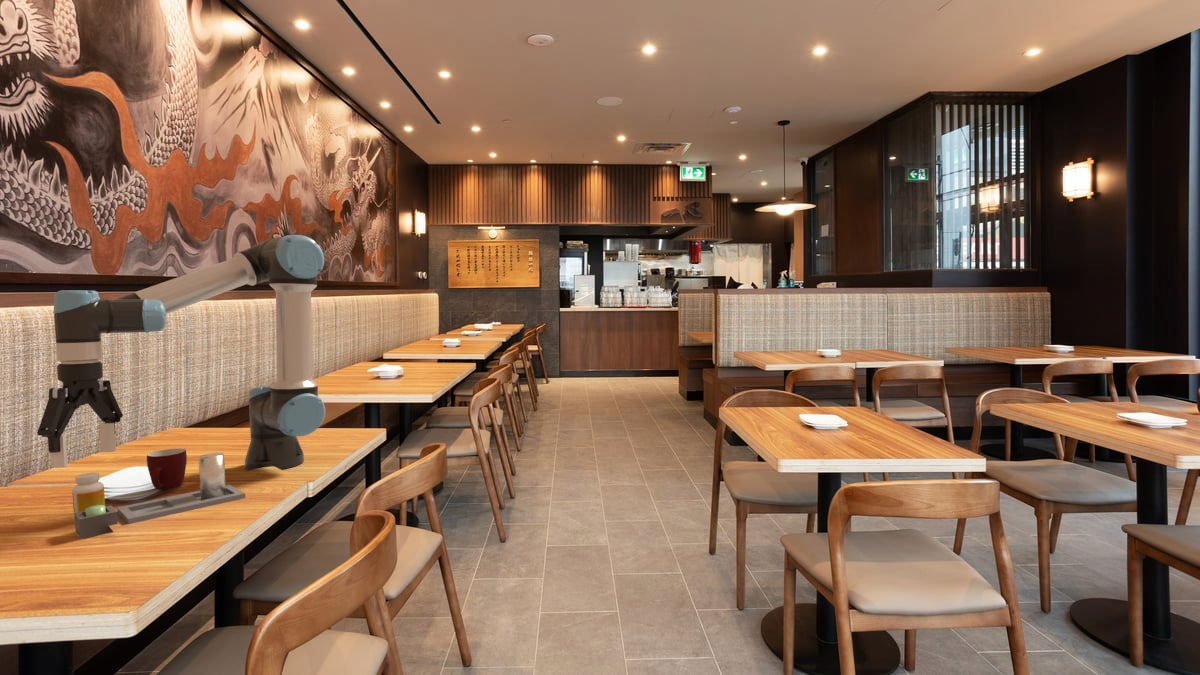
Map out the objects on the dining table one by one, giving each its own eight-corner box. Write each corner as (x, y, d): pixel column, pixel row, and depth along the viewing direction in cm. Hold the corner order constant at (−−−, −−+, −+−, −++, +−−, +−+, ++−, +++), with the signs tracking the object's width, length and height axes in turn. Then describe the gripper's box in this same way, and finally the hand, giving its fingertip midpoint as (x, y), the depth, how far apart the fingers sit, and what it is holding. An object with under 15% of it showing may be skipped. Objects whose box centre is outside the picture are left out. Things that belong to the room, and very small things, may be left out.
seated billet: (222, 493, 148) (219, 451, 147) (229, 497, 145) (226, 455, 144) (197, 498, 144) (195, 456, 144) (204, 503, 141) (202, 459, 140)
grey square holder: (112, 523, 133) (110, 505, 132) (118, 530, 129) (116, 511, 128) (75, 531, 128) (74, 512, 128) (80, 539, 124) (79, 519, 124)
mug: (179, 498, 150) (177, 457, 149) (139, 501, 147) (137, 460, 146) (192, 485, 160) (190, 447, 159) (155, 489, 157) (153, 450, 156)
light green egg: (104, 522, 131) (103, 503, 130) (107, 526, 128) (106, 507, 128) (85, 526, 128) (84, 507, 128) (88, 530, 126) (86, 511, 126)
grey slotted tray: (229, 494, 152) (229, 484, 152) (245, 503, 144) (245, 493, 144) (117, 518, 136) (117, 507, 136) (129, 530, 128) (128, 519, 128)
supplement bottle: (111, 515, 138) (109, 472, 137) (85, 524, 133) (82, 479, 132) (95, 513, 140) (92, 470, 139) (68, 521, 135) (65, 477, 134)
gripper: (105, 357, 146) (110, 446, 147) (9, 368, 121) (15, 475, 123) (138, 356, 147) (142, 445, 148) (49, 367, 122) (55, 474, 123)
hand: (85, 459), depth 135 cm, fingers open, 13 cm apart
